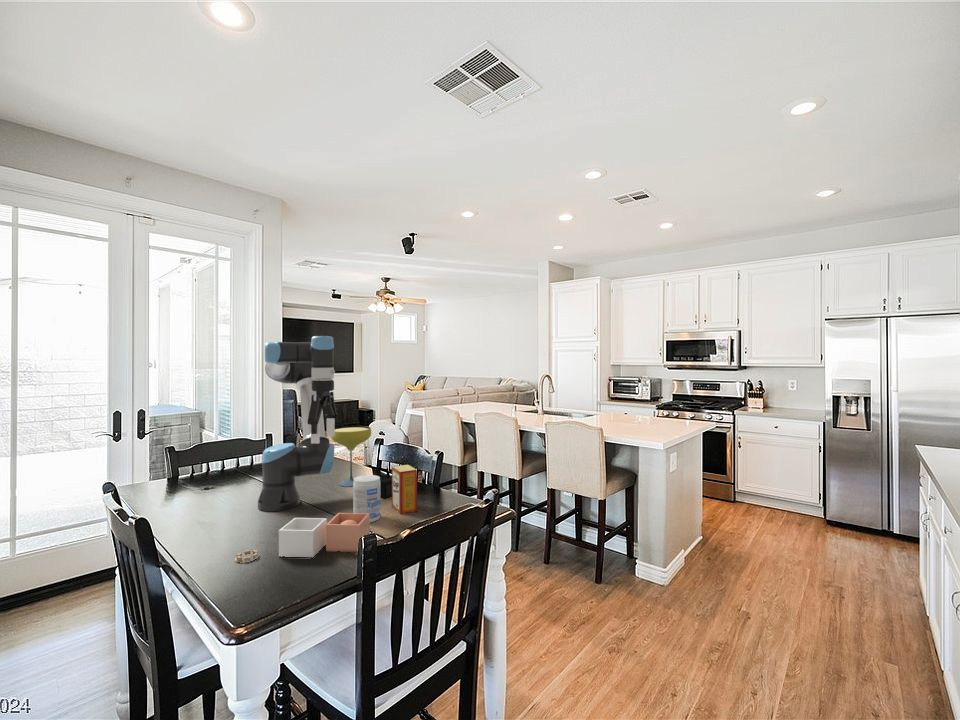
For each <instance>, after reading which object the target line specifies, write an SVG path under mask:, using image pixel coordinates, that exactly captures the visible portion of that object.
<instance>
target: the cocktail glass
mask: <svg viewBox="0 0 960 720" xmlns="http://www.w3.org/2000/svg"><path fill="white" fill-rule="evenodd" d="M371 435H372V428H371V427H370V426H367V425H347V426H346V425H345V426H336V427H335V436H329V437H330V439H331V440H332V441H334V442H335V443H337V444H338V445H341V446H343V447H345V448H346V449H347V450H348V452H349V453H350V456H349V457H350V464H349V465H350V466H349V467H350V468H349V469H350V470H349V479H346V480H342V481H340V482H339V483H338V485H339V486H340V487H344V486H347V487H346V488H349V487H350V486H352V487H353V483H354V478H353V460H352V459H353V458H352V457H353V454H352V453H353V451H354V450H355V448H356V447H357V446H359V445H361V444H362V443H364V442H366V441H367V440H368V439H370V438H371ZM350 488H351V487H350Z"/></svg>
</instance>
